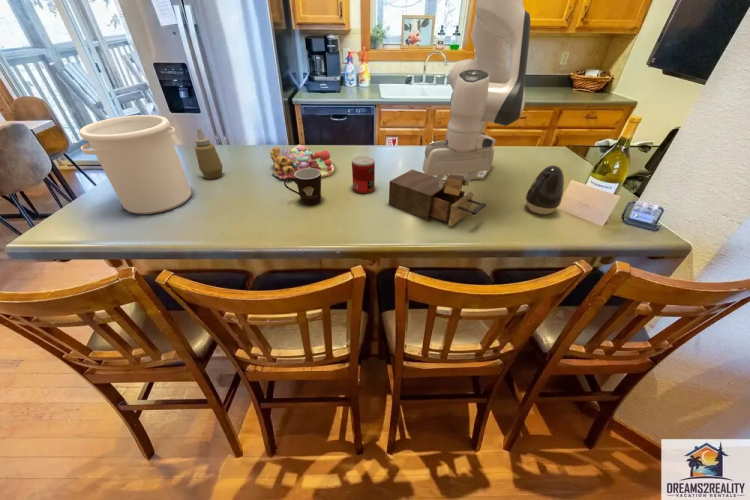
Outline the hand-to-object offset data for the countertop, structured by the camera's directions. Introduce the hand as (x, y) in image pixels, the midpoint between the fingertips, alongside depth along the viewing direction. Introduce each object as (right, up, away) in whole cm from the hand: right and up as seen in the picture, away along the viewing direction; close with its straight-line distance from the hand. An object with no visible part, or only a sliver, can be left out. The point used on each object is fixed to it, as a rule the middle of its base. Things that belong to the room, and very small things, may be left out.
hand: (453, 186), depth 94 cm
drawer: (0, -8, +6) cm, 10 cm away
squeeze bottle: (-87, +10, +30) cm, 92 cm away
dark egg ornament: (+31, -6, +10) cm, 33 cm away
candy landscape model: (-53, +14, +36) cm, 66 cm away
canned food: (-27, +3, +22) cm, 35 cm away
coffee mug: (-47, -2, +15) cm, 49 cm away
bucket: (-97, -2, +14) cm, 98 cm away
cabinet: (-9, -4, +12) cm, 16 cm away
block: (0, -1, +1) cm, 2 cm away
